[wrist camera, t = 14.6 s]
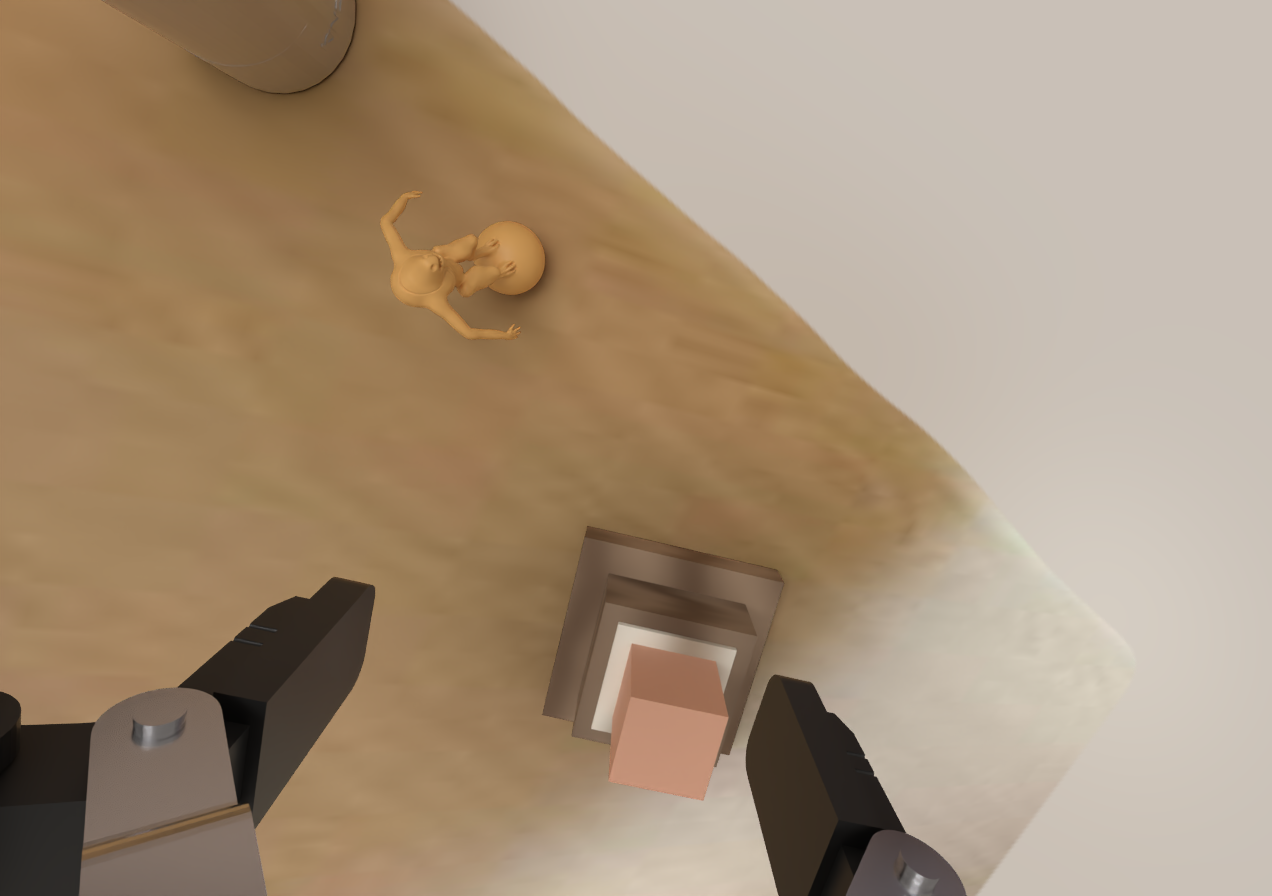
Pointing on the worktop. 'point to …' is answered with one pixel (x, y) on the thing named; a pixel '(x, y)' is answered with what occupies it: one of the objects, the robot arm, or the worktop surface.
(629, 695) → the terracotta cube
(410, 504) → the worktop surface
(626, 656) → the walnut plinth
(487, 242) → the figurine
